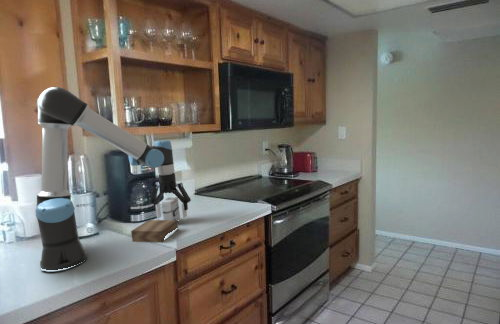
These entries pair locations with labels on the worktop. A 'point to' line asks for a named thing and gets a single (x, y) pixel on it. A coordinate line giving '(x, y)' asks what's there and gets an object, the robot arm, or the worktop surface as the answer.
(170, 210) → the ink box
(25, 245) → the worktop surface
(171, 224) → the walnut block
